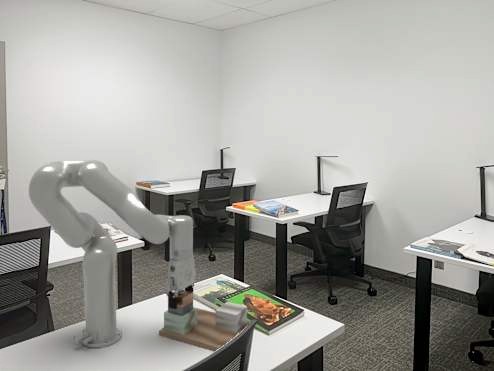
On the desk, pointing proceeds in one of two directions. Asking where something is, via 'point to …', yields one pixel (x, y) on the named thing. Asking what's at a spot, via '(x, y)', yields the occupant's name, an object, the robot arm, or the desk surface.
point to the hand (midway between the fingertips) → (181, 302)
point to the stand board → (206, 325)
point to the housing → (183, 303)
